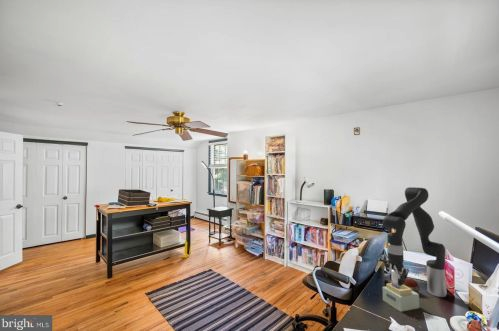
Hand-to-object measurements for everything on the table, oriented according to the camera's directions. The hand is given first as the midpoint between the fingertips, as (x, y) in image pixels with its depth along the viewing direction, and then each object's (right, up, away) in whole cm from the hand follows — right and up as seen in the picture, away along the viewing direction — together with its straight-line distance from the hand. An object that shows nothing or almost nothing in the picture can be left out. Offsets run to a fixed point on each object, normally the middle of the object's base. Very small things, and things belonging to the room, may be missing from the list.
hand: (396, 282), depth 121 cm
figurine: (+20, -19, +25) cm, 38 cm away
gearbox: (+9, -18, +11) cm, 23 cm away
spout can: (0, -2, 0) cm, 2 cm away
